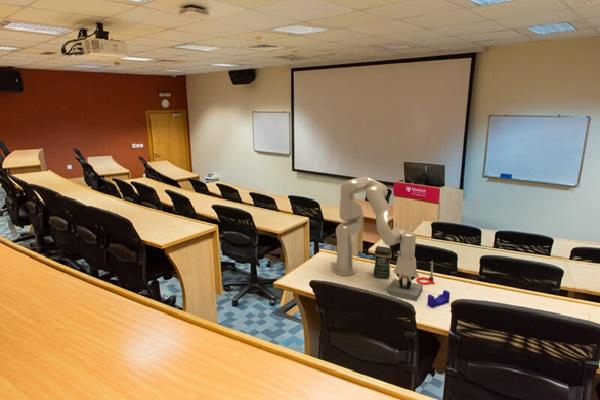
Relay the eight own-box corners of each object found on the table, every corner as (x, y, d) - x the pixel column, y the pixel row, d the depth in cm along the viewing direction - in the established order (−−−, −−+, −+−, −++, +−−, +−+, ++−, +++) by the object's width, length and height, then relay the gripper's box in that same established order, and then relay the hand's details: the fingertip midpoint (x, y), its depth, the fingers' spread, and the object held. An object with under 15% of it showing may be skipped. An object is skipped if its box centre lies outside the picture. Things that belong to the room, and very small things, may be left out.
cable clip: (442, 299, 197) (443, 288, 195) (448, 302, 193) (449, 292, 192) (424, 304, 192) (425, 293, 190) (431, 308, 188) (432, 297, 187)
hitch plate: (386, 293, 202) (386, 288, 201) (393, 283, 214) (394, 278, 213) (416, 301, 194) (416, 296, 194) (422, 289, 206) (422, 285, 206)
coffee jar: (372, 277, 222) (373, 248, 217) (375, 272, 229) (376, 243, 224) (388, 280, 218) (390, 250, 213) (391, 274, 225) (392, 245, 220)
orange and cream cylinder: (400, 289, 203) (401, 275, 201) (402, 286, 206) (403, 273, 204) (407, 290, 201) (408, 277, 199) (408, 287, 204) (409, 274, 202)
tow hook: (418, 285, 212) (435, 285, 212) (418, 264, 209) (435, 264, 209) (414, 279, 220) (430, 278, 220) (415, 258, 217) (431, 258, 217)
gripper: (389, 254, 200) (387, 285, 204) (421, 260, 192) (418, 292, 196) (393, 249, 206) (391, 279, 211) (424, 255, 198) (422, 286, 203)
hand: (404, 285), depth 203 cm, fingers closed on orange and cream cylinder, 3 cm apart
